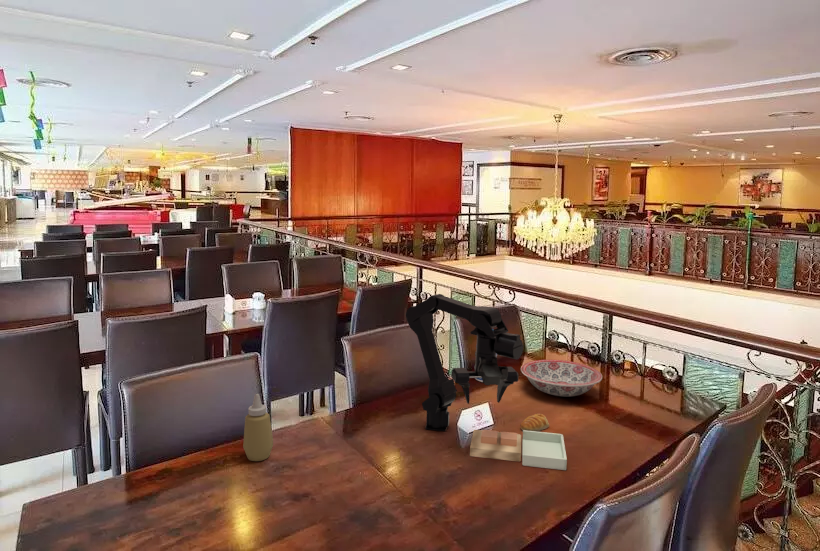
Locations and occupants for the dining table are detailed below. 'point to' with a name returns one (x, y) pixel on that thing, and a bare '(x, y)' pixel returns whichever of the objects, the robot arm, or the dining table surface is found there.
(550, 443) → the tray
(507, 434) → the tile
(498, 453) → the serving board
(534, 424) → the pastry
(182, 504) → the dining table surface
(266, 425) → the squeeze bottle
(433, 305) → the robot arm
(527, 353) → the dining table surface
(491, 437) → the tile
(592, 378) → the ceramic bowl
